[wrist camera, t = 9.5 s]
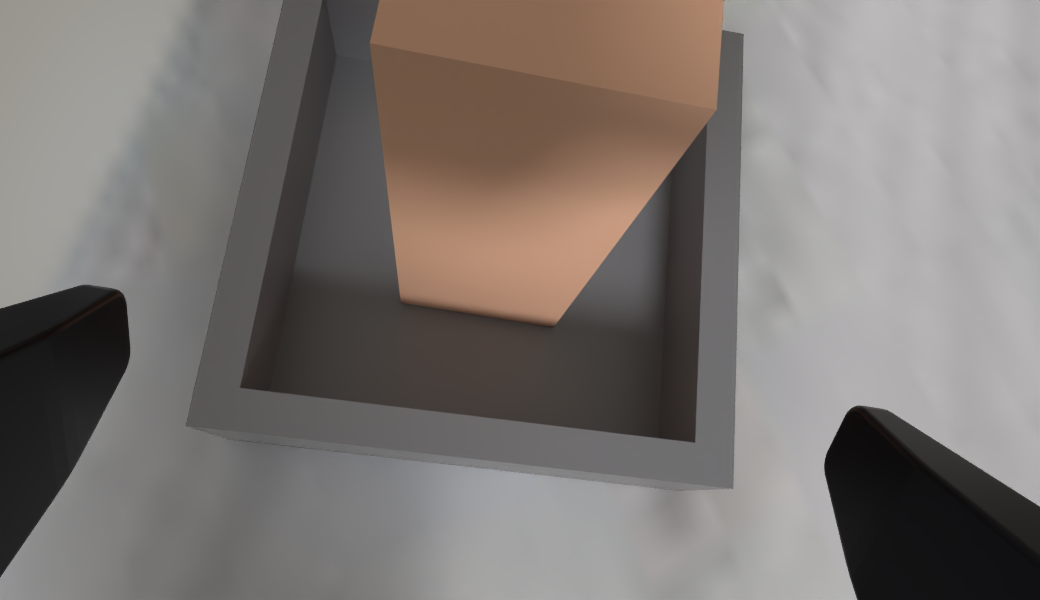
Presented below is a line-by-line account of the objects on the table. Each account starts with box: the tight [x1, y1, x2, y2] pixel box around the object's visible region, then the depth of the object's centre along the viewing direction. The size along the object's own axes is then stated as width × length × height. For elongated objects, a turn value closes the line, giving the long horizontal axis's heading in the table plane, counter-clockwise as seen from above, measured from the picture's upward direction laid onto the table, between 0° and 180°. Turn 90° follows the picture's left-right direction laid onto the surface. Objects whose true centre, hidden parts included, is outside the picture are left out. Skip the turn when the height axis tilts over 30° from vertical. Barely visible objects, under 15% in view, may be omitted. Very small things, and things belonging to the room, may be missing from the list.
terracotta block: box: [370, 0, 724, 327], centre depth 16 cm, size 4×4×12 cm
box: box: [186, 0, 744, 491], centre depth 21 cm, size 13×13×4 cm
